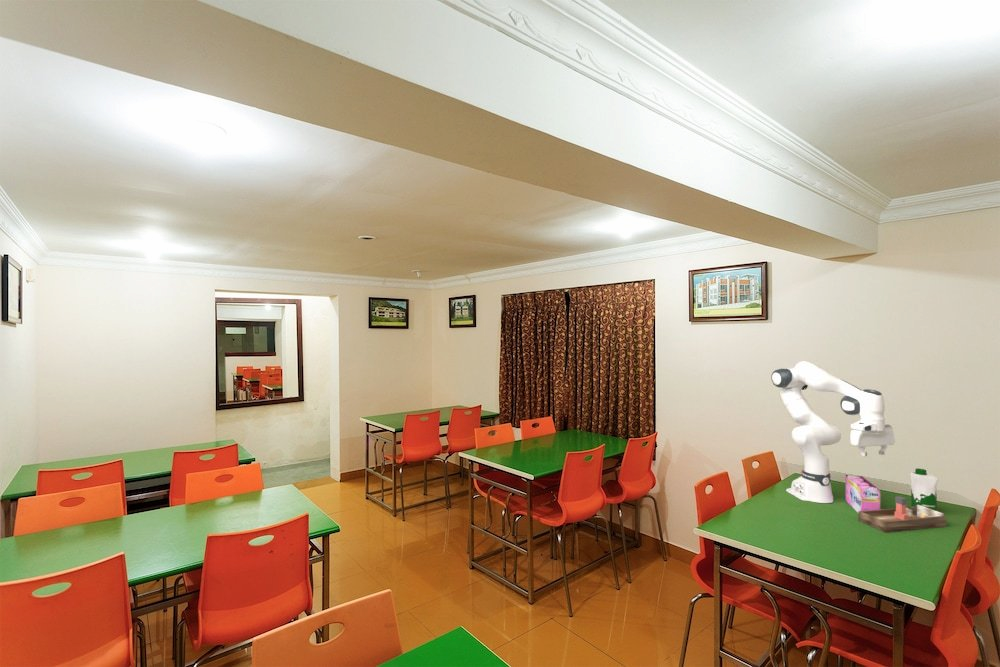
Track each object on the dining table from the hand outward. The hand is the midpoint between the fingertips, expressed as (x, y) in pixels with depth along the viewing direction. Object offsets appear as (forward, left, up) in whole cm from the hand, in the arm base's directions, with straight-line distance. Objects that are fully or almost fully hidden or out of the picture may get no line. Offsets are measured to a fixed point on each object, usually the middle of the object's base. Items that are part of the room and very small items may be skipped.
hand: (872, 455), depth 219 cm
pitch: (+3, +11, -31) cm, 33 cm away
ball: (+3, +23, -29) cm, 38 cm away
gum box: (-15, +10, -31) cm, 36 cm away
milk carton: (-6, +35, -31) cm, 47 cm away
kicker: (+4, +11, -29) cm, 31 cm away
